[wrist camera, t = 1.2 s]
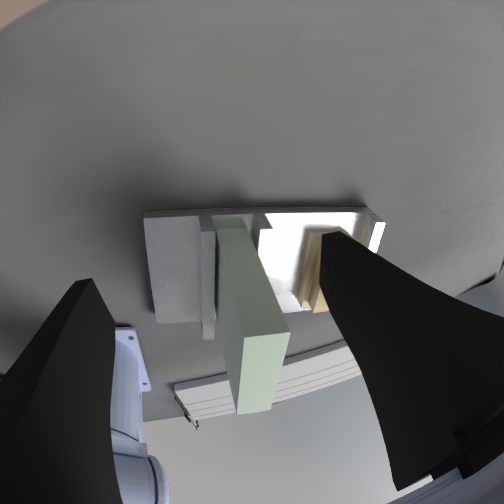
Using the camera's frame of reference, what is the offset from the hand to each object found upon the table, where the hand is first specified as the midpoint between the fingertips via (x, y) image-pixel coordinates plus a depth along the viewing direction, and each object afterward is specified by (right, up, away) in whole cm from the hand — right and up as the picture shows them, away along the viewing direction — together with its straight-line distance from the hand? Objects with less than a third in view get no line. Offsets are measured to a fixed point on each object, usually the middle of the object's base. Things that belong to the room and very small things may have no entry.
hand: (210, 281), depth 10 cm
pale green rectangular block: (0, -1, +13) cm, 13 cm away
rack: (+2, 0, +14) cm, 14 cm away
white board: (+8, -13, +25) cm, 30 cm away
